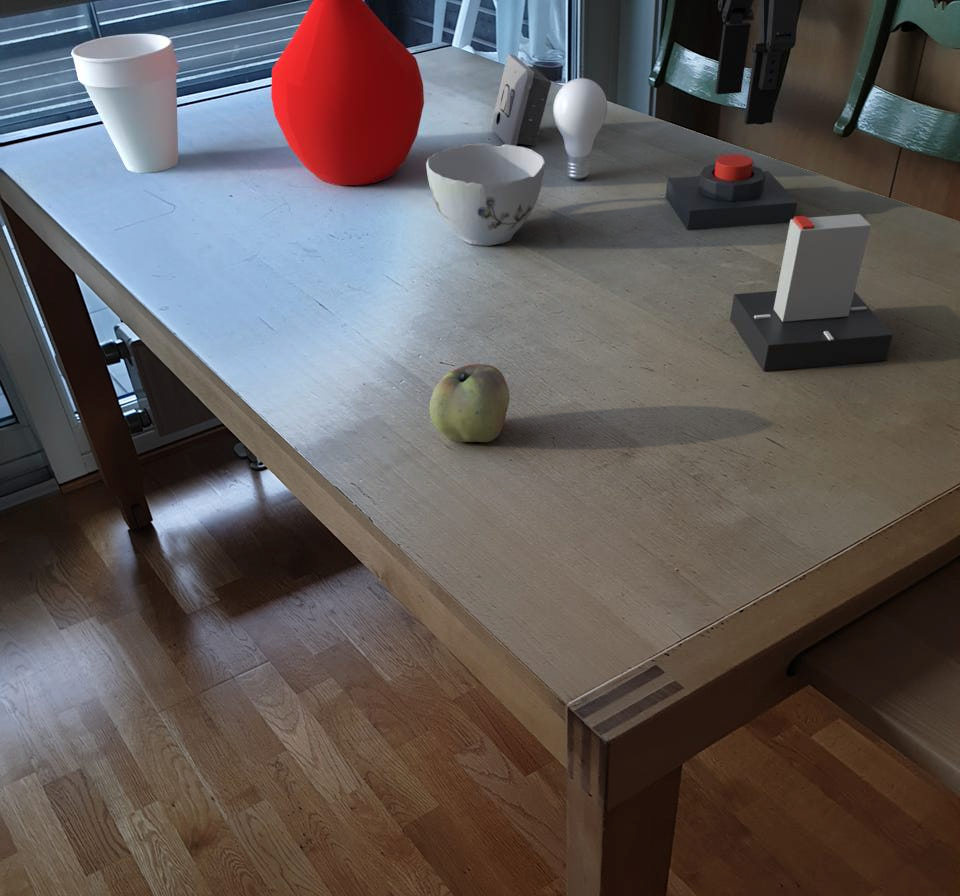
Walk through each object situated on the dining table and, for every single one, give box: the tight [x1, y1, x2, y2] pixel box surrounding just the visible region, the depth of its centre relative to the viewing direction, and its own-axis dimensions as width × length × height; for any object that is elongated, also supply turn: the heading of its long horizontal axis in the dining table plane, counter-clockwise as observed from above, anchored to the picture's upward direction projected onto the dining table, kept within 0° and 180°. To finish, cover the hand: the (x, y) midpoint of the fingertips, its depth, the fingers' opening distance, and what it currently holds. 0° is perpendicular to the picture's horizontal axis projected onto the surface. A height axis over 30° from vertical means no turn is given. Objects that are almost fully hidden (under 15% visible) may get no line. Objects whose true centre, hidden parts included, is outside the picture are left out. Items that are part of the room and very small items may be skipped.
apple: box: [428, 363, 511, 443], centre depth 76 cm, size 6×8×6 cm
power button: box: [714, 153, 754, 181], centre depth 107 cm, size 4×4×2 cm
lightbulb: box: [552, 77, 608, 181], centre depth 114 cm, size 6×6×11 cm
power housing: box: [665, 163, 798, 232], centre depth 108 cm, size 12×10×4 cm
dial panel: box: [729, 290, 893, 372], centre depth 87 cm, size 11×10×3 cm
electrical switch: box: [491, 54, 552, 147], centre depth 127 cm, size 9×5×9 cm, turn 15°
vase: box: [270, 0, 425, 186], centre depth 112 cm, size 18×18×30 cm
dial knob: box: [774, 213, 872, 322], centre depth 83 cm, size 6×2×8 cm, turn 96°
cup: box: [70, 33, 180, 174], centre depth 123 cm, size 12×12×14 cm
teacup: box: [425, 143, 546, 247], centre depth 105 cm, size 15×12×8 cm
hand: (742, 106), depth 102 cm, fingers open, 10 cm apart
